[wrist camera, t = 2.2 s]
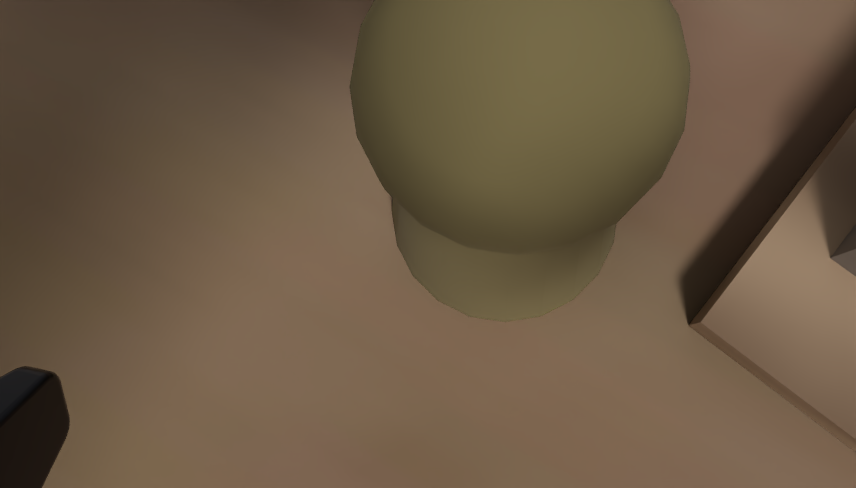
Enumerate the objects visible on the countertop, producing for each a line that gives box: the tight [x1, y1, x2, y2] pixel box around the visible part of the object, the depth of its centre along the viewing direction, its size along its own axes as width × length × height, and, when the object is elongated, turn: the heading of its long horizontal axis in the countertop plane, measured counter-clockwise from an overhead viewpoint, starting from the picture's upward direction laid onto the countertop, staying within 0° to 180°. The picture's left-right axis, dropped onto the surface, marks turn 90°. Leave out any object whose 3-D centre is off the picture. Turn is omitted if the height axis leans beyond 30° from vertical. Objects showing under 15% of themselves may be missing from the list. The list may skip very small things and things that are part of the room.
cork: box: [350, 0, 690, 322], centre depth 16 cm, size 6×6×11 cm
